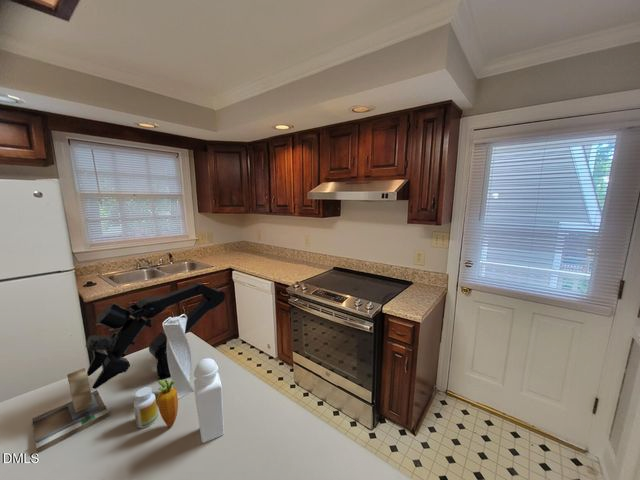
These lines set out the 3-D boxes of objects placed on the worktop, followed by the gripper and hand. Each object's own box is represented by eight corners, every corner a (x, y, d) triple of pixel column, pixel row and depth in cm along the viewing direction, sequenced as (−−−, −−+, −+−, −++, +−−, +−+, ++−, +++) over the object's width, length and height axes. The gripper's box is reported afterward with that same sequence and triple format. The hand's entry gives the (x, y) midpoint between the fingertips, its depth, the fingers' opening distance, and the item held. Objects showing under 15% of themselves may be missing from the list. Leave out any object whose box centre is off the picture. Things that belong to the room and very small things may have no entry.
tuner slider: (93, 396, 86) (87, 363, 84) (101, 414, 79) (95, 379, 77) (68, 408, 82) (61, 373, 80) (74, 428, 74) (67, 390, 72)
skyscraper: (199, 391, 90) (191, 313, 86) (176, 403, 85) (166, 321, 80) (190, 380, 96) (182, 307, 91) (167, 391, 90) (157, 314, 86)
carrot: (184, 421, 78) (179, 375, 75) (170, 436, 73) (164, 387, 71) (171, 417, 79) (166, 372, 77) (156, 431, 75) (150, 383, 72)
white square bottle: (200, 446, 70) (192, 370, 67) (198, 427, 76) (191, 357, 72) (226, 435, 73) (219, 362, 70) (222, 418, 79) (216, 350, 75)
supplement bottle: (162, 414, 81) (158, 385, 79) (149, 429, 76) (145, 399, 74) (145, 413, 81) (141, 384, 80) (132, 428, 76) (127, 398, 75)
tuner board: (97, 394, 90) (96, 388, 90) (109, 416, 80) (108, 410, 80) (33, 423, 78) (31, 416, 78) (37, 453, 69) (36, 446, 69)
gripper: (96, 316, 89) (57, 362, 83) (110, 334, 77) (66, 389, 71) (127, 329, 96) (93, 372, 90) (145, 346, 85) (108, 397, 78)
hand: (90, 381), depth 82 cm, fingers open, 9 cm apart
